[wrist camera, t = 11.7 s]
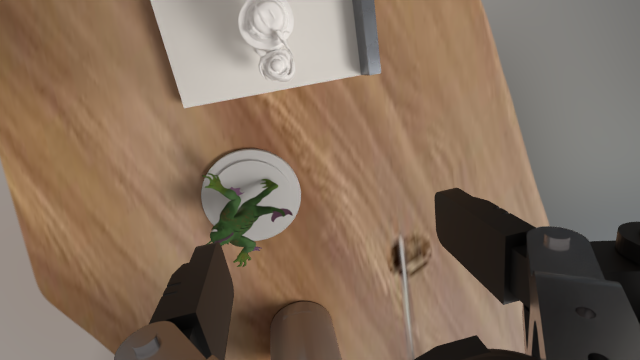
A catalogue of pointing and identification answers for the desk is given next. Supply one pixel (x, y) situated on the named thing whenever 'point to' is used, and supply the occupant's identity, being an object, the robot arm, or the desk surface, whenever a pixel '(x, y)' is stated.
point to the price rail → (367, 36)
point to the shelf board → (241, 58)
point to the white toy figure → (269, 36)
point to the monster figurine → (249, 198)
